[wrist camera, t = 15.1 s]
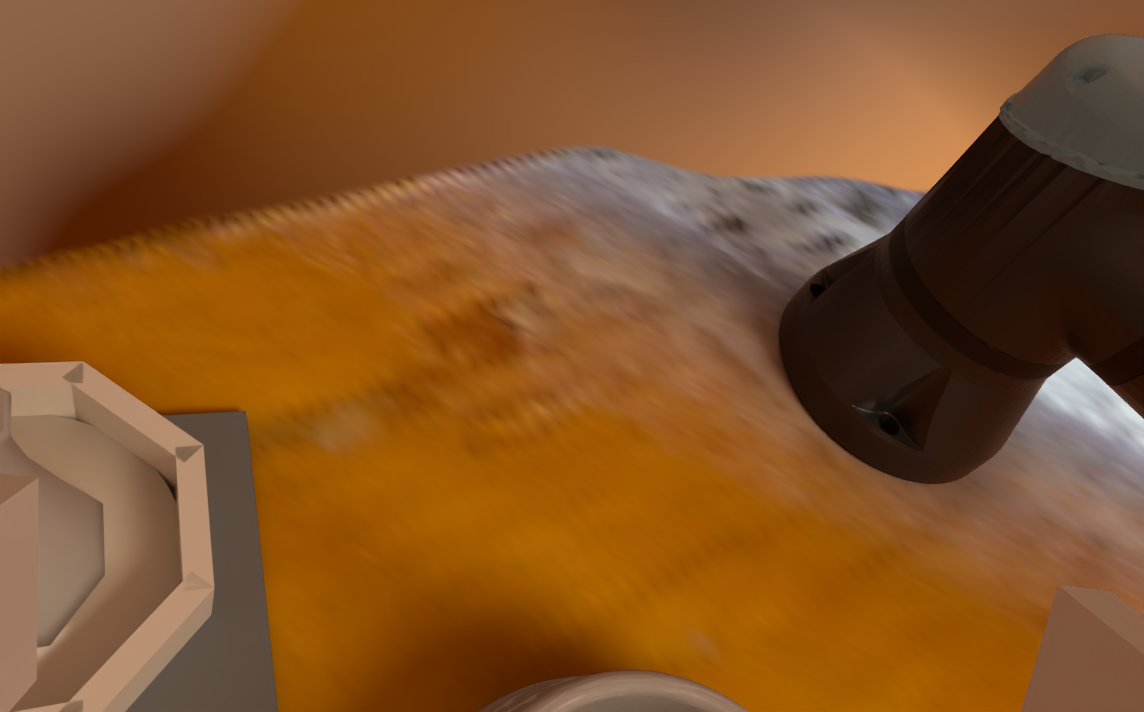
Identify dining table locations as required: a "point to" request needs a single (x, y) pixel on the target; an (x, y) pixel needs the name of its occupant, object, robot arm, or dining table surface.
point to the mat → (223, 589)
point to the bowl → (117, 533)
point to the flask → (57, 536)
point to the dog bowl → (615, 695)
